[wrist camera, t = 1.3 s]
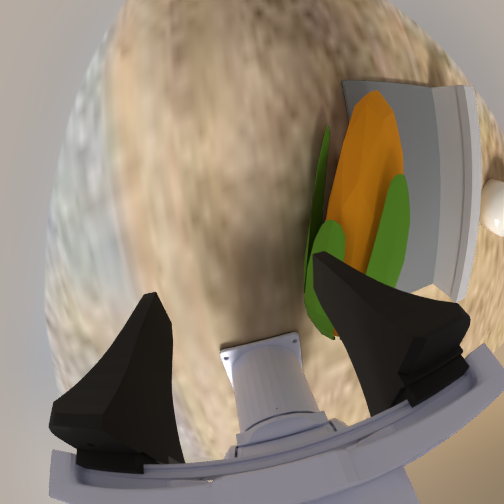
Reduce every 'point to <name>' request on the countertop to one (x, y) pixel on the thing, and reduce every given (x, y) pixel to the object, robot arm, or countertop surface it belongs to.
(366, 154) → the toy fruit
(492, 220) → the white glossy round part
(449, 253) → the bracket
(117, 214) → the countertop surface
